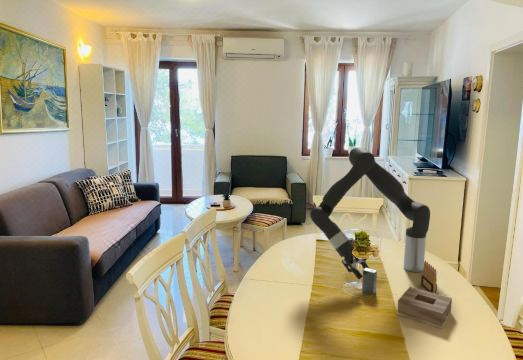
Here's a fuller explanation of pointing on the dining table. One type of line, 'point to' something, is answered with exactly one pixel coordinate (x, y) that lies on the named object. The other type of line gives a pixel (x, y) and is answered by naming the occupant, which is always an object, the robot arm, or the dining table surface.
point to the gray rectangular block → (369, 281)
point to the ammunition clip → (429, 278)
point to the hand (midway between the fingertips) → (365, 274)
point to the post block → (425, 307)
